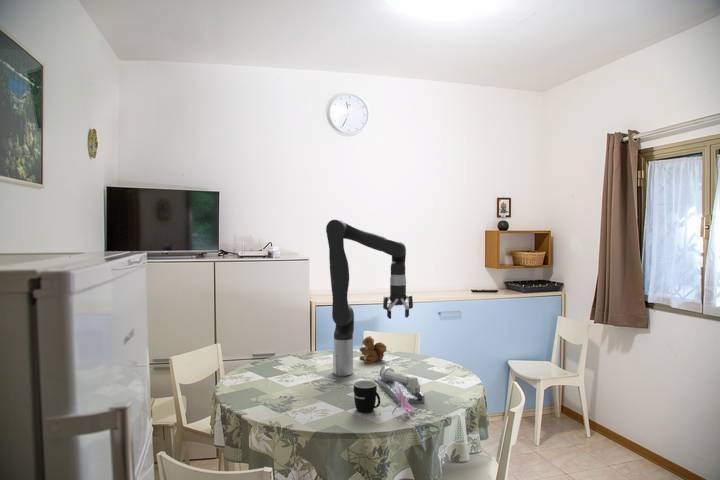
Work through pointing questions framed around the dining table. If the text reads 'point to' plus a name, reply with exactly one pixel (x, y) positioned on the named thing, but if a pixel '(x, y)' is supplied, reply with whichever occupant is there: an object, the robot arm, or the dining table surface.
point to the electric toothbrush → (402, 380)
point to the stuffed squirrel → (372, 350)
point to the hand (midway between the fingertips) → (398, 317)
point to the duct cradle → (392, 388)
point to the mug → (365, 396)
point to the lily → (403, 402)
